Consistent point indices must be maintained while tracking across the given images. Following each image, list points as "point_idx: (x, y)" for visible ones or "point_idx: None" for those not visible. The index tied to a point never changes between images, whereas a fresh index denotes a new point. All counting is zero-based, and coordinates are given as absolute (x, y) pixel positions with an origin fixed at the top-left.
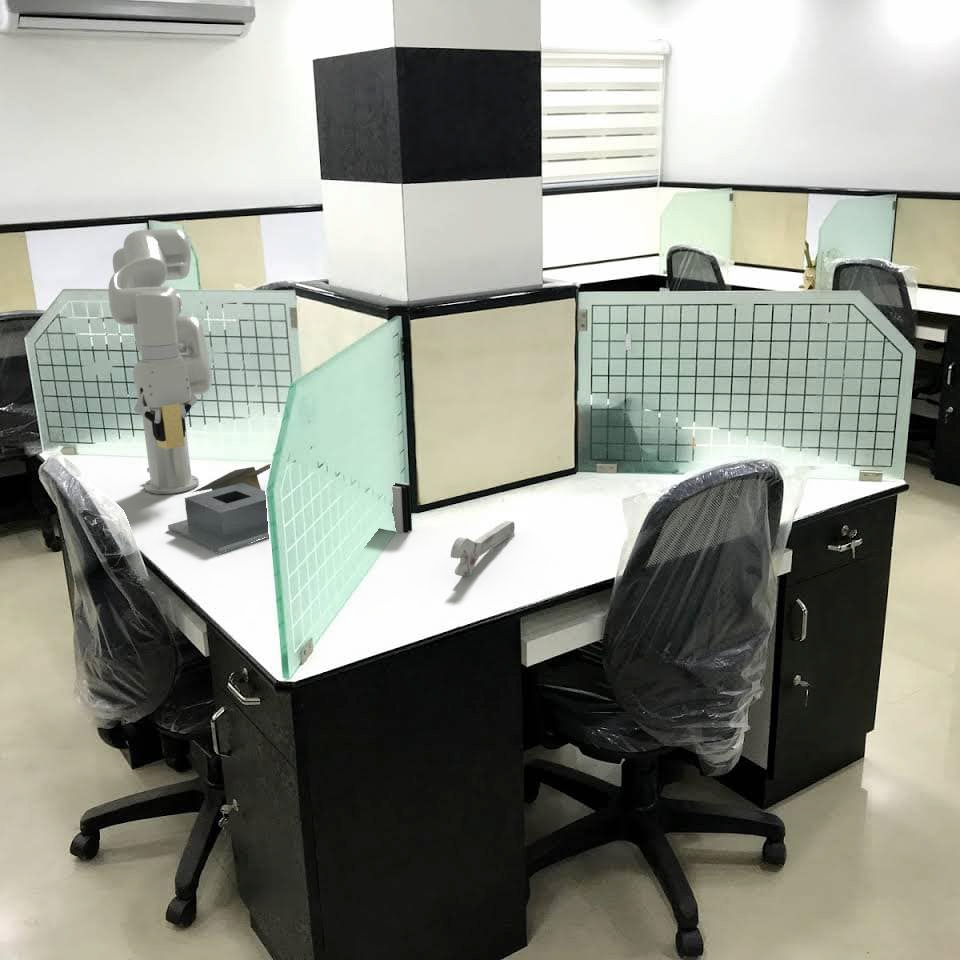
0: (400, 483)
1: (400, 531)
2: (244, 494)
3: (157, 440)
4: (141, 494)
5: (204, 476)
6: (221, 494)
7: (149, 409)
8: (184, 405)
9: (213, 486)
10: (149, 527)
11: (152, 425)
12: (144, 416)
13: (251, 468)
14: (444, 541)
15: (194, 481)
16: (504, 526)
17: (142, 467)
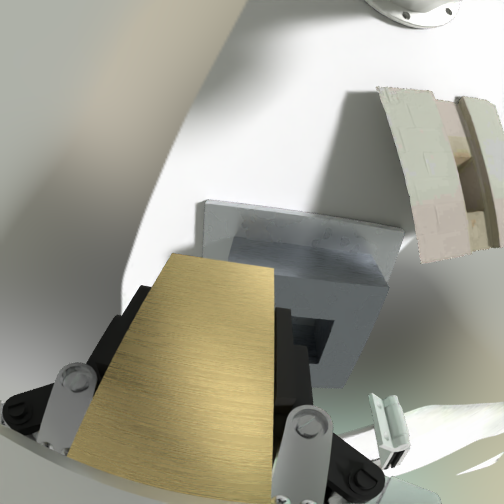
0: (397, 462)
1: (374, 426)
2: (325, 344)
3: (162, 270)
4: None
5: (478, 4)
6: (297, 315)
7: (39, 437)
8: (332, 501)
9: (429, 111)
10: (192, 148)
11: (91, 361)
12: (22, 394)
13: (470, 243)
14: (366, 446)
15: (441, 18)
16: (382, 469)
17: None
